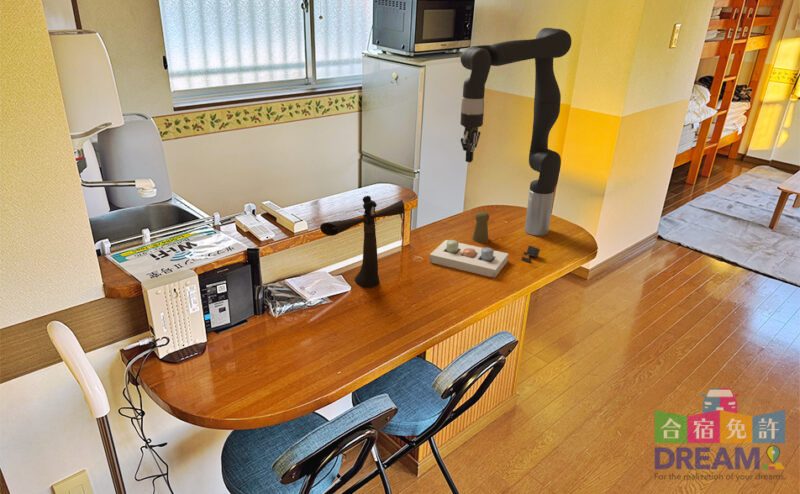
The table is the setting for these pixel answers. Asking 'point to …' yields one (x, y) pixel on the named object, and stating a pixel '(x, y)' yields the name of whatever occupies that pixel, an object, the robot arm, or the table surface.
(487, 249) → the slate button
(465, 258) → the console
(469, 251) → the terracotta button
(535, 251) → the building blocks
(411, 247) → the table surface
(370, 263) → the outstretched arms figurine
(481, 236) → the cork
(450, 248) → the pale green rounded piece
